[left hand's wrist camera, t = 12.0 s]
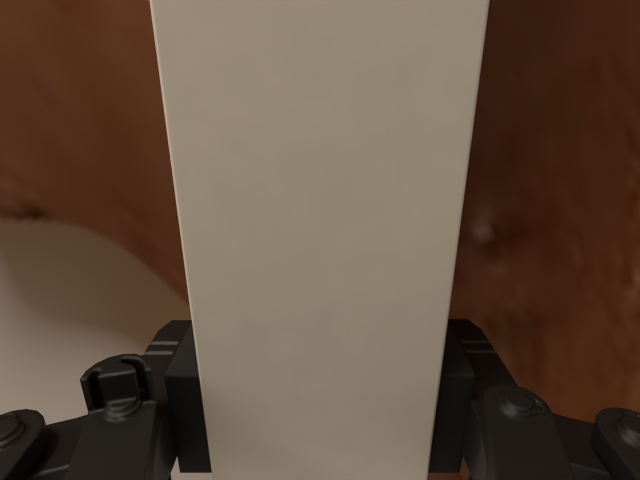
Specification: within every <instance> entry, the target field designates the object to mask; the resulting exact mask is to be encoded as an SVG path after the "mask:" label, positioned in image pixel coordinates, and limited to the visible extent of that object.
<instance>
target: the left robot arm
mask: <svg viewBox="0 0 640 480" xmlns="http://www.w3.org/2000/svg"><path fill="white" fill-rule="evenodd" d="M80 382H81V386H82V390H83V393H84V397H85V401H86V405H87V409H88V415H85V416H82V417H78V418H75V419H71V420H66V421H62V422H58V423H53V424H49V425H46V424H45V420H44V417H43V416H42V415H41V414H40V413H39V412H38V411H35V410H29V409H24V410H16V411H11V412H8V413H5V414H2V415H0V480H171V474H170V473H171V471H172V468H173V465H174V463H175V460H176V458H177V457H178V463H179V468H180V472H181V473H212V470H211V462H210V455H209V447H208V439H207V432H206V424H205V416H204V409H203V401H202V394H201V386H200V378H199V371H198V363H197V356H196V348H195V340H194V333H193V325H192V320H173V321H171V322H170V323H168V324H167V325H165V326H164V327H163V328H161V329H160V330H159V331H158V332H157V334H156V335H155V337H154V339H153V340H152V342H151V345H149V346H148V348H147V349H146V351H145V355H143V356H141V355H137V354H122V355H118V356H113V357H109V358H107V359H105V360H103V361H100V362H98V363H96V364H95V365H93V366H92V367H91V368H89V369H88V370H87V371H86V372H85V373H84V375H83V376H82V377H81V379H80ZM462 455H463V456H464V459H465V462H466V464H467V467H468V470H469V472H470V474H469V480H640V413H637V412H634V411H631V410H629V409H622V408H615V407H613V408H607V409H603V410H601V411H600V412H599V413H598V414H597V416H596V419H595V422H594V423H589V422H585V421H581V420H576V419H572V418H568V417H564V416H560V415H557V414H554V413H552V411H551V410H550V408H549V407H548V405H547V404H546V402H545V401H543V400H542V399H541V398H540V397H539V396H537V395H536V394H534V393H532V392H530V391H529V390H527V389H525V388H521V387H518V385H517V384H516V382H515V381H514V379H513V378H512V376H511V375H510V373H509V372H508V370H507V368H506V367H505V365H504V364H503V362H502V361H501V359H500V358H499V356H498V355H497V353H495V350H494V348H493V347H492V345H491V344H490V343H489V341H488V339H487V338H486V336H485V334H484V333H483V331H482V330H481V329H480V328H479V327H477V326H476V325H475V324H473V323H472V322H471V321H469V320H468V319H448V323H447V331H446V338H445V346H444V354H443V361H442V369H441V377H440V384H439V392H438V400H437V407H436V415H435V423H434V430H433V438H432V446H431V453H430V461H429V469H428V473H459V472H460V466H461V461H462Z"/></svg>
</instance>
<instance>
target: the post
mask: <svg viewBox="0 0 640 480" xmlns="http://www.w3.org/2000/svg"><path fill="white" fill-rule="evenodd" d="M489 1H490V0H150V6H151V13H152V21H153V29H154V36H155V44H156V51H157V59H158V67H159V74H160V82H161V89H162V97H163V105H164V112H165V120H166V127H167V135H168V143H169V150H170V158H171V166H172V173H173V181H174V188H175V196H176V204H177V211H178V219H179V226H180V234H181V242H182V249H183V257H184V264H185V272H186V280H187V287H188V295H189V302H190V310H191V317H192V325H193V333H194V340H195V348H196V356H197V363H198V371H199V378H200V386H201V394H202V401H203V409H204V416H205V424H206V432H207V439H208V447H209V455H210V462H211V470H212V477H213V480H427V476H428V469H429V461H430V453H431V446H432V438H433V430H434V423H435V415H436V407H437V400H438V392H439V384H440V377H441V369H442V361H443V354H444V346H445V338H446V331H447V323H448V315H449V308H450V300H451V292H452V285H453V277H454V269H455V262H456V254H457V246H458V239H459V231H460V223H461V216H462V208H463V200H464V193H465V185H466V177H467V170H468V162H469V154H470V147H471V139H472V131H473V124H474V116H475V108H476V101H477V93H478V85H479V78H480V70H481V62H482V55H483V47H484V39H485V32H486V24H487V16H488V8H489Z"/></svg>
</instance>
